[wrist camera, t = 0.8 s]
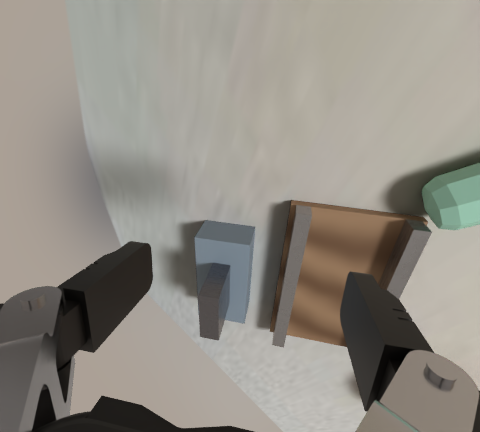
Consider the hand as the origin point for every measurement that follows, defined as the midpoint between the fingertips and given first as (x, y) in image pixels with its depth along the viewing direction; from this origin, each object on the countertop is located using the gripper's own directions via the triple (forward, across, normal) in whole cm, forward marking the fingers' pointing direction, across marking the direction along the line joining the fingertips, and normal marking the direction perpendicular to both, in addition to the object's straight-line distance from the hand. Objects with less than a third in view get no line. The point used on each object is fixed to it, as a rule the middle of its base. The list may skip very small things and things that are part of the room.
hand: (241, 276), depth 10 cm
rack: (+20, -9, +11) cm, 24 cm away
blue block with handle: (+20, +4, +11) cm, 23 cm away
